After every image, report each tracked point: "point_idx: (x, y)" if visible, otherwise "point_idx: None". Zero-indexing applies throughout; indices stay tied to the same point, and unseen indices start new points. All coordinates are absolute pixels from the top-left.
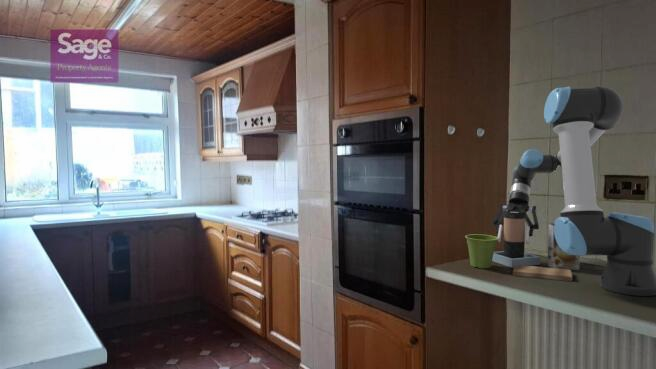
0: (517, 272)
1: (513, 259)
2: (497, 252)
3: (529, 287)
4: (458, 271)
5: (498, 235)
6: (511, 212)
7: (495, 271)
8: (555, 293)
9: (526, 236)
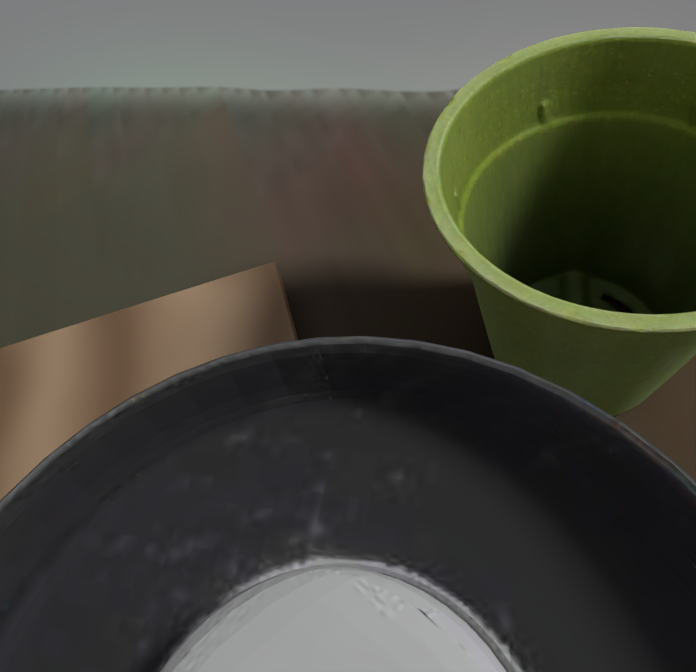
0: (248, 275)
1: None
2: None
3: (153, 149)
4: None
5: None
6: (309, 338)
7: (412, 290)
8: (42, 149)
9: None
